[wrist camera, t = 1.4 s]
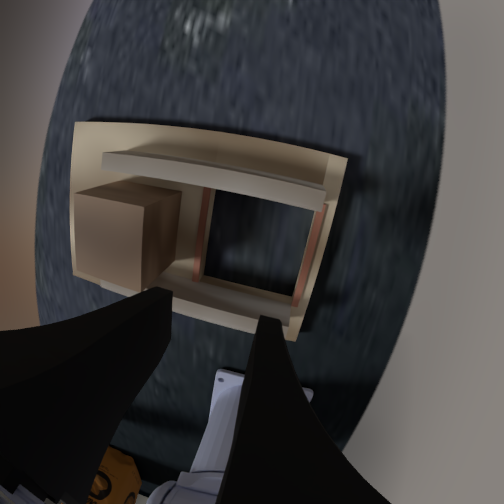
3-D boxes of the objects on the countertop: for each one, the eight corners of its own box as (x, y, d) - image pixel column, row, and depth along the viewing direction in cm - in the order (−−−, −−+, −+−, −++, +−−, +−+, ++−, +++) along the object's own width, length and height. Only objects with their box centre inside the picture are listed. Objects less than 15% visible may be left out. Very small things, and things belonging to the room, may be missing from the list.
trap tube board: (296, 333, 20) (293, 366, 16) (80, 269, 21) (54, 287, 18) (344, 157, 15) (355, 160, 12) (83, 122, 17) (50, 122, 14)
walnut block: (174, 260, 18) (140, 293, 14) (117, 245, 19) (76, 270, 14) (182, 191, 17) (144, 206, 12) (120, 180, 17) (74, 192, 13)
